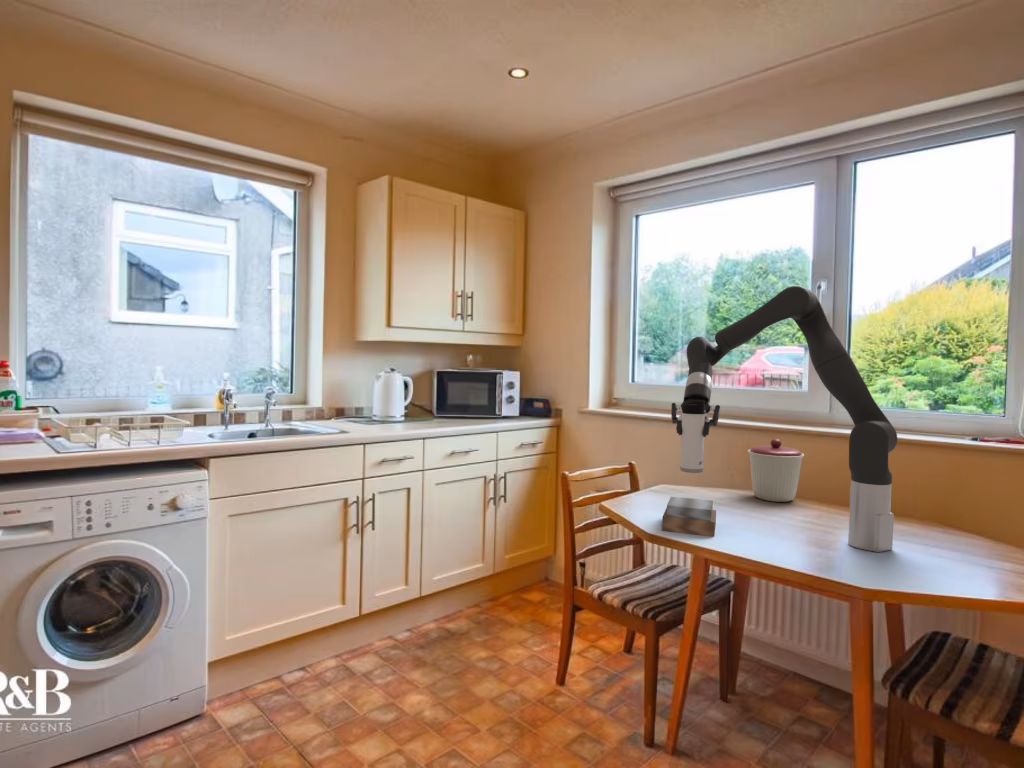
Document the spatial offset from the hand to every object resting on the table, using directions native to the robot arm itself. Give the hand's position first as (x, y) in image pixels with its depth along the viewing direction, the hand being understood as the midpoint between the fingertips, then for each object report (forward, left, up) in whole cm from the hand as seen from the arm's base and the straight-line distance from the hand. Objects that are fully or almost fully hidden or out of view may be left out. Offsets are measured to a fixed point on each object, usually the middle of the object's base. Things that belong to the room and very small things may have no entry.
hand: (692, 434), depth 173 cm
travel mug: (+1, -1, -11) cm, 11 cm away
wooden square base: (+1, -1, -27) cm, 27 cm away
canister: (+16, -54, -27) cm, 63 cm away
